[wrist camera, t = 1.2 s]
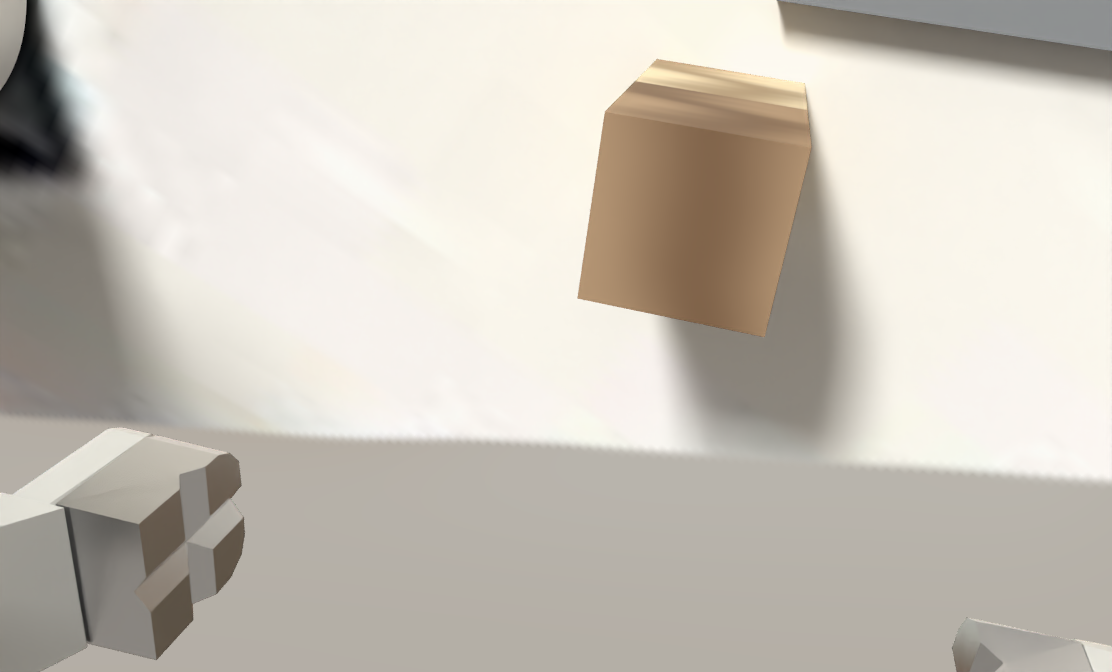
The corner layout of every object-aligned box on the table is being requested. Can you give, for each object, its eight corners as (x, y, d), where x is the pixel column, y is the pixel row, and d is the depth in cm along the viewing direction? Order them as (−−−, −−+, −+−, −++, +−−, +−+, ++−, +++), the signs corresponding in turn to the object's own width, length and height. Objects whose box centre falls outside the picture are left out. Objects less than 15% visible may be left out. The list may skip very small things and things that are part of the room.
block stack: (633, 199, 33) (577, 298, 24) (657, 59, 31) (605, 111, 22) (770, 225, 33) (764, 337, 24) (804, 83, 30) (811, 147, 22)
